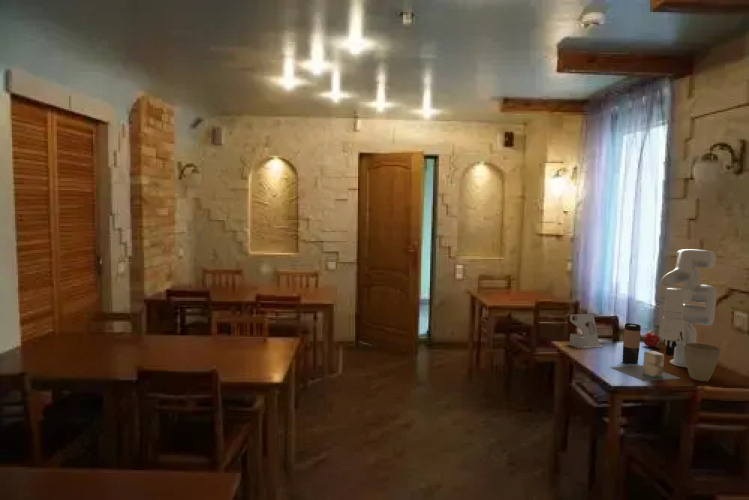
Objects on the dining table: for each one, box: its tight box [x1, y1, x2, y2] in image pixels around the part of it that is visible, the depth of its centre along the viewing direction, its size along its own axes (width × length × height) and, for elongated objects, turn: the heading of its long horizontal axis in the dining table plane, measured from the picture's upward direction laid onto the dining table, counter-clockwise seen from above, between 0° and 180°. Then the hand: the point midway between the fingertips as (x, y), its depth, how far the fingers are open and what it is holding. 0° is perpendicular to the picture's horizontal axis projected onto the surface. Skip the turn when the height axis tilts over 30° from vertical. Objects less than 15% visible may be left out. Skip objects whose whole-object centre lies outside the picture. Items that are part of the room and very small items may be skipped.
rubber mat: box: [609, 365, 681, 382], centre depth 270 cm, size 22×22×1 cm
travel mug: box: [622, 322, 642, 365], centre depth 289 cm, size 8×8×20 cm
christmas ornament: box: [642, 329, 661, 348], centre depth 327 cm, size 9×9×10 cm
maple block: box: [642, 350, 665, 378], centre depth 265 cm, size 6×6×11 cm
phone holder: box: [568, 313, 603, 349], centre depth 323 cm, size 17×10×18 cm, turn 110°
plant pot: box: [684, 342, 722, 382], centre depth 263 cm, size 15×15×16 cm
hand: (669, 355), depth 255 cm, fingers closed
